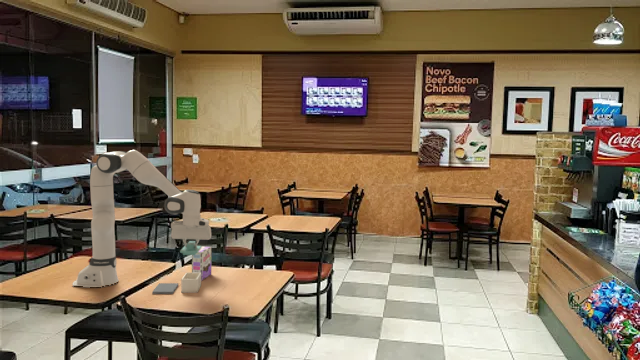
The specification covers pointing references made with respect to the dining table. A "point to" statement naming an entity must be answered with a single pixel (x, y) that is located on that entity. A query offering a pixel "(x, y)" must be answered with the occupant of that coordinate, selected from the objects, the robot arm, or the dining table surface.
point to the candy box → (202, 262)
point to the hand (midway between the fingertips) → (191, 247)
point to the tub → (191, 283)
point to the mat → (165, 288)
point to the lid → (190, 249)
